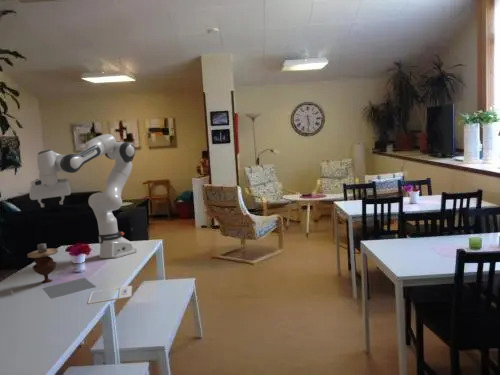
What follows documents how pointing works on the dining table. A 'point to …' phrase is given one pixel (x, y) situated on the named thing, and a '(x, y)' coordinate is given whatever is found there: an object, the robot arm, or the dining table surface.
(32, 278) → the dining table surface
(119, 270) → the dining table surface
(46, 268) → the ice cream bowl
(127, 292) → the photo frame
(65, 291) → the rubber mat
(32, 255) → the walnut lid
